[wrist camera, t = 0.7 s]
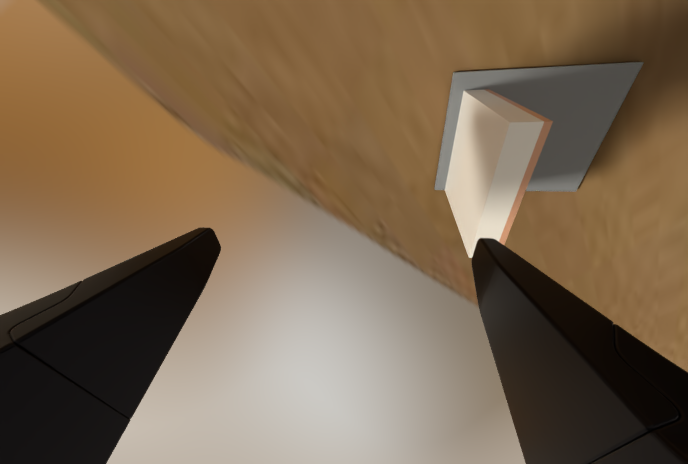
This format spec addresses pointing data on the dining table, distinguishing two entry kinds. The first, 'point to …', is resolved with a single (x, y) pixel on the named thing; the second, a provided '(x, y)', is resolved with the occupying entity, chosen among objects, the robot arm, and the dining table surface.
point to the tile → (492, 164)
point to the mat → (551, 114)
